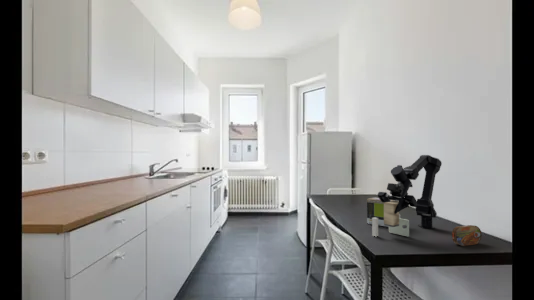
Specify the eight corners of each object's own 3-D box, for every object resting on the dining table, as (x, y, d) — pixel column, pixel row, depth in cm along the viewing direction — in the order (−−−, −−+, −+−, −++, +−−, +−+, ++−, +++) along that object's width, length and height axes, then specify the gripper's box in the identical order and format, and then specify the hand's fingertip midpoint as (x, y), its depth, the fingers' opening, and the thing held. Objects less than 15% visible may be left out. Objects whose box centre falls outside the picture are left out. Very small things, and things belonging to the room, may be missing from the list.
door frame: (397, 229, 163) (397, 212, 163) (400, 230, 161) (400, 213, 161) (372, 236, 150) (372, 217, 150) (375, 237, 148) (375, 218, 148)
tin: (456, 246, 133) (456, 227, 133) (450, 244, 136) (450, 225, 136) (482, 244, 137) (482, 225, 138) (475, 242, 140) (475, 223, 141)
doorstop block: (389, 223, 152) (389, 201, 152) (399, 225, 148) (398, 203, 148) (383, 225, 149) (383, 202, 149) (393, 227, 145) (393, 204, 145)
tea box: (399, 225, 173) (399, 199, 173) (392, 228, 166) (392, 201, 166) (374, 221, 184) (374, 196, 184) (366, 223, 177) (366, 198, 177)
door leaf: (387, 232, 155) (387, 217, 155) (390, 232, 157) (390, 216, 157) (406, 237, 147) (406, 220, 147) (409, 236, 149) (408, 219, 149)
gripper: (379, 176, 159) (366, 199, 152) (414, 178, 144) (401, 204, 137) (388, 190, 163) (375, 213, 157) (422, 193, 148) (410, 219, 142)
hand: (389, 212), depth 148 cm, fingers closed on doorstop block, 5 cm apart
